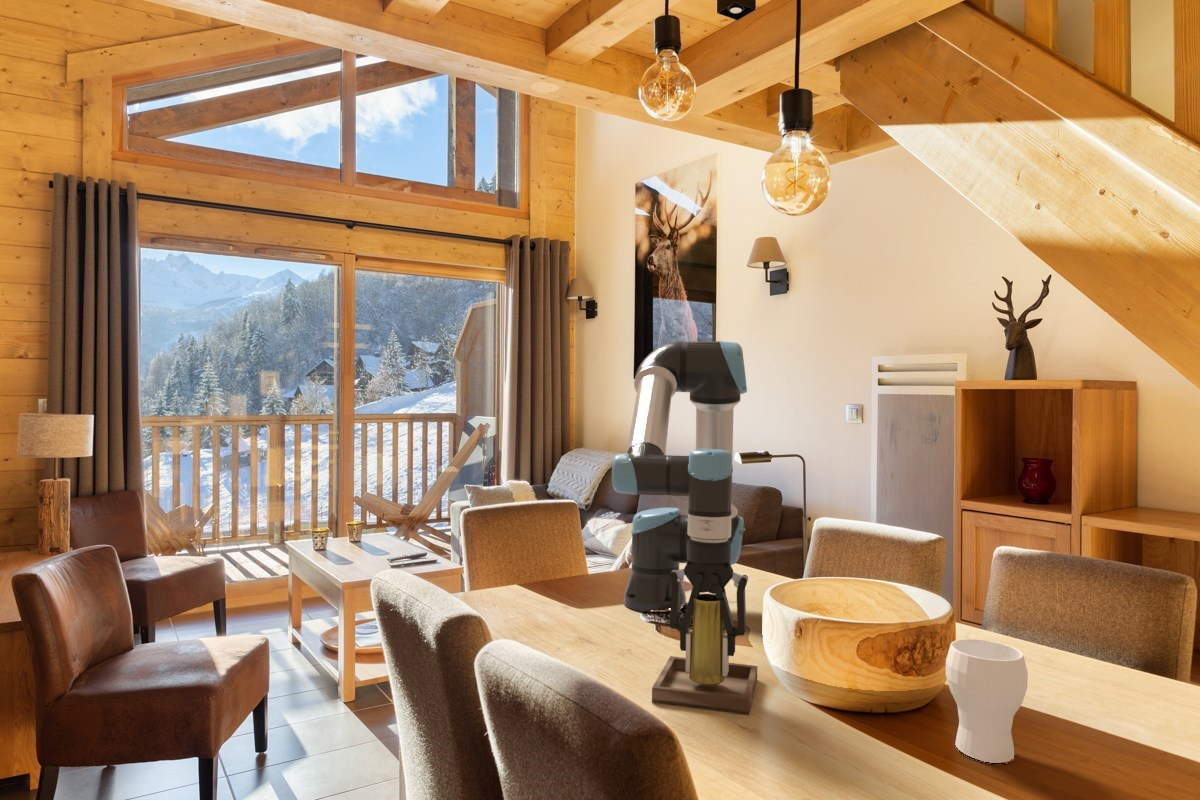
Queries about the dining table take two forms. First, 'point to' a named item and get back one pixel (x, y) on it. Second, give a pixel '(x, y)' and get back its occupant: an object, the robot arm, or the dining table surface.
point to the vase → (707, 641)
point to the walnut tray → (706, 688)
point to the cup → (986, 696)
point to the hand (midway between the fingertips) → (707, 671)
